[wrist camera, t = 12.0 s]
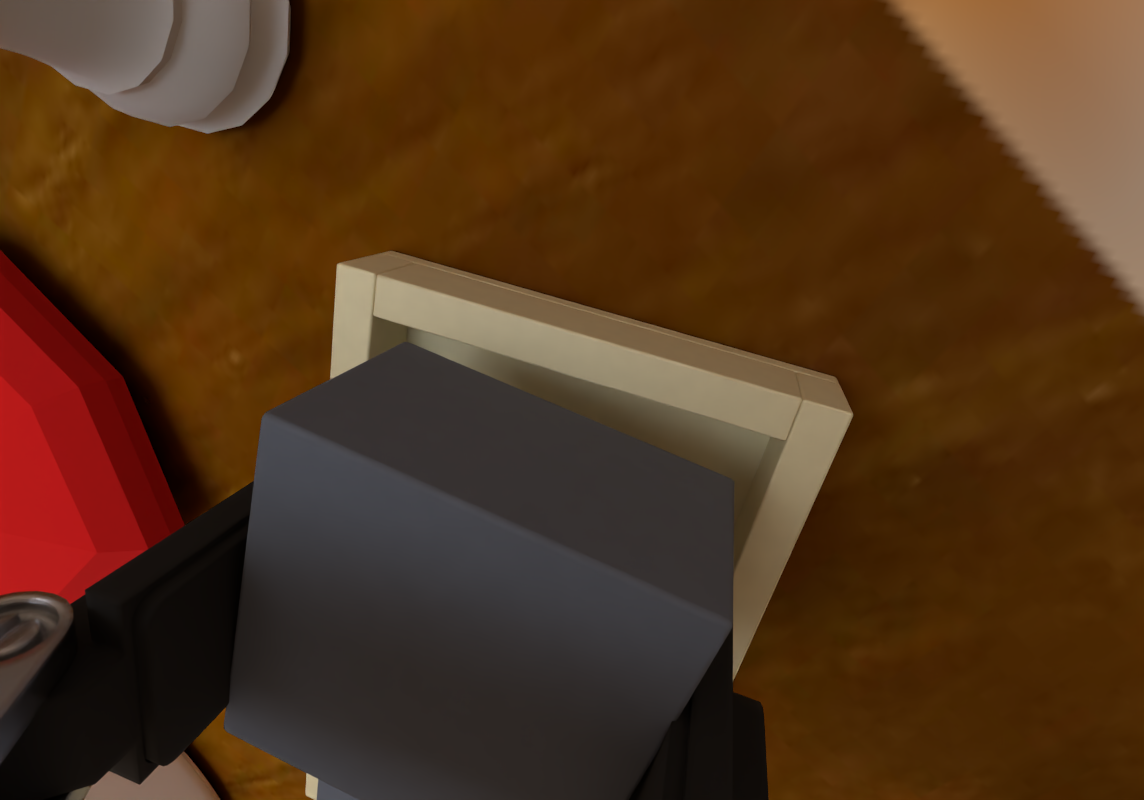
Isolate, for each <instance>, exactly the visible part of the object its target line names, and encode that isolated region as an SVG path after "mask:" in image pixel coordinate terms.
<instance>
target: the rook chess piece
mask: <svg viewBox="0 0 1144 800" xmlns="http://www.w3.org/2000/svg"><path fill="white" fill-rule="evenodd" d="M290 22H291V7H290V3H289V0H0V48H3V49H6V50H9V51H13V52H16V53H20V54H23V55H26V56H29V57H32V58H34V59H36V60H38V61H41V62H43V63H45V64H48V65H50V66H52V67H53V68H54V69H55V70H57V71H58V72H59V73H61V74H62V75H63V76H64V77H66V78H67V79H68V80H69V81H71V82H72V83H73V84H74V85H76V86H80V87H83V88H87V89H89V90H90V91H92V92H93V93H94V94H95V95H97V96H98V97H99V98H101V99H102V100H103V101H104V102H106V103H107V104H108V105H109V106H111V107H112V108H113V109H116V110H118V111H120V112H123V113H125V114H128V115H130V116H133V117H136V118H140V119H144V120H147V121H151V122H154V123H158V124H161V125H165V126H168V127H172V126H176V125H179V126H182V127H186V128H190V129H193V130H197V131H200V132H204V133H207V134H208V133H212V132H216V131H221V130H225V129H229V128H233V127H238V126H242V125H243V124H244V123H245V122H246V121H247V120H248V119H249V118H250V117H251V116H253V115H254V114H255V113H256V112H257V111H258V110H259V109H260V108H261V107H262V106H263V105H264V104H265V103H266V102H267V101H268V100H269V99H270V98H271V96H272V94H273V92H274V90H275V88H276V86H277V83H278V80H279V78H280V75H281V73H282V70H283V68H284V65H285V63H286V60H287V58H288V55H289V51H290Z"/></svg>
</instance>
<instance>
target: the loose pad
mask: <svg viewBox="0 0 1144 800" xmlns="http://www.w3.org/2000/svg"><path fill="white" fill-rule="evenodd" d="M733 576H734V481H733V480H732V479H731V478H729V477H726V476H724V475H722V474H719V473H717V472H715V471H712V470H710V469H707V468H705V467H703V466H700V465H698V464H696V463H693V462H691V461H689V460H686V459H684V458H681V457H679V456H677V455H674V454H672V453H670V452H667V451H665V450H663V449H660V448H658V447H655V446H653V445H651V444H648V443H646V442H644V441H641V440H639V439H637V438H634V437H632V436H629V435H627V434H625V433H622V432H620V431H618V430H615V429H613V428H611V427H608V426H606V425H603V424H601V423H599V422H596V421H594V420H592V419H589V418H587V417H584V416H582V415H580V414H577V413H575V412H573V411H570V410H568V409H566V408H563V407H561V406H558V405H556V404H554V403H551V402H549V401H547V400H544V399H542V398H540V397H537V396H535V395H532V394H530V393H528V392H525V391H523V390H521V389H518V388H516V387H514V386H511V385H509V384H506V383H504V382H502V381H499V380H497V379H495V378H492V377H490V376H488V375H485V374H483V373H480V372H478V371H476V370H473V369H471V368H469V367H466V366H464V365H462V364H459V363H457V362H454V361H452V360H450V359H447V358H445V357H443V356H440V355H438V354H436V353H433V352H431V351H428V350H426V349H424V348H421V347H419V346H417V345H414V344H412V343H409V342H403V343H401V344H399V345H397V346H395V347H393V348H391V349H389V350H387V351H385V352H383V353H381V354H379V355H377V356H375V357H373V358H371V359H369V360H367V361H365V362H363V363H362V364H360V365H358V366H356V367H354V368H352V369H350V370H348V371H346V372H344V373H342V374H340V375H338V376H336V377H334V378H332V379H330V380H328V381H326V382H324V383H322V384H320V385H318V386H316V387H314V388H312V389H311V390H309V391H307V392H305V393H303V394H301V395H299V396H297V397H295V398H293V399H291V400H289V401H287V402H285V403H283V404H281V405H279V406H277V407H275V408H273V409H271V410H269V411H267V412H266V413H265V414H264V415H263V417H262V421H261V429H260V437H259V445H258V453H257V461H256V469H255V477H254V486H253V494H252V502H251V510H250V518H249V526H248V534H247V542H246V551H245V559H244V567H243V575H242V583H241V591H240V599H239V607H238V616H237V624H236V632H235V640H234V648H233V656H232V664H231V673H230V694H229V704H228V705H227V706H226V713H225V721H224V729H225V730H226V731H227V732H228V733H230V734H232V735H234V736H236V737H238V738H240V739H242V740H244V741H246V742H248V743H250V744H251V745H253V746H255V747H257V748H259V749H261V750H263V751H265V752H267V753H269V754H271V755H273V756H275V757H277V758H279V759H280V760H282V761H284V762H286V763H288V764H290V765H292V766H294V767H296V768H298V769H300V770H302V771H304V772H306V773H308V774H309V775H311V776H313V777H315V778H317V779H319V780H321V781H323V782H325V783H327V784H329V785H331V786H333V787H335V788H336V789H338V790H340V791H342V792H344V793H346V794H348V795H350V796H352V797H354V798H356V799H358V800H629V799H630V798H631V796H632V794H633V793H634V791H635V789H636V788H637V786H638V784H639V783H640V781H641V779H642V778H643V776H644V774H645V773H646V771H647V769H648V768H649V766H650V764H651V763H652V761H653V759H654V758H655V756H656V754H657V752H658V751H659V749H660V747H661V745H662V743H663V741H664V738H665V736H666V734H667V731H668V729H669V727H670V724H671V722H672V721H676V720H677V719H678V718H679V716H680V714H681V713H682V711H683V709H684V708H685V706H686V704H687V703H688V701H689V699H690V698H691V696H692V694H693V693H694V691H695V689H696V688H697V686H698V684H699V683H700V681H701V679H702V678H703V676H704V674H705V673H706V671H707V669H708V668H709V666H710V664H711V663H712V661H713V659H714V658H715V656H716V654H717V653H718V651H719V649H720V648H721V646H722V644H723V643H724V641H725V639H726V638H727V636H728V634H729V633H730V631H731V629H732V628H733Z"/></svg>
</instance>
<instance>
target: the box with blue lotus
mask: <svg viewBox="0 0 1144 800" xmlns="http://www.w3.org/2000/svg"><path fill="white" fill-rule="evenodd" d="M84 800H220V798H219V797H218V795H217V794H216V792H215V791H214V789H213V788H212V786H211V785H210V783H209V782H208V780H207V779H206V778H205V776H204V775H203V774H202V772H201V771H200V770H199V768H198V767H197V766H196V765H195V764H194V762H193V761H192V760H191V759H190V757H189V756H188V755H187V754H186V753H185V752H184V751H183V752H182V754H181V755H180V756H179V757H178V758H177V759H175V760H174V761H173V762H172V763H170V764H169V765H167V766H161V765H159V766H158V767H157V768H156V769H155V770H154V771H153V772H152V773H151V774H150V775H149V776H148V777H147V778H146V779H145V780H144V781H143V782H142V783H141V784H140V785H139V784H137V783H134V782H132V781H130V780H128V779H126V778H123V777H121V776H119V775H117V774H114V773H112V772H110V771H108V772H107V773H106V774H105V775H104V776H103V777H102V778H101V779H100V780H99V781H98V782H97V783H96V784H94V785H92V786H91V788H90V790H89V792H88V794H87V795H86V797H85V799H84Z"/></svg>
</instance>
